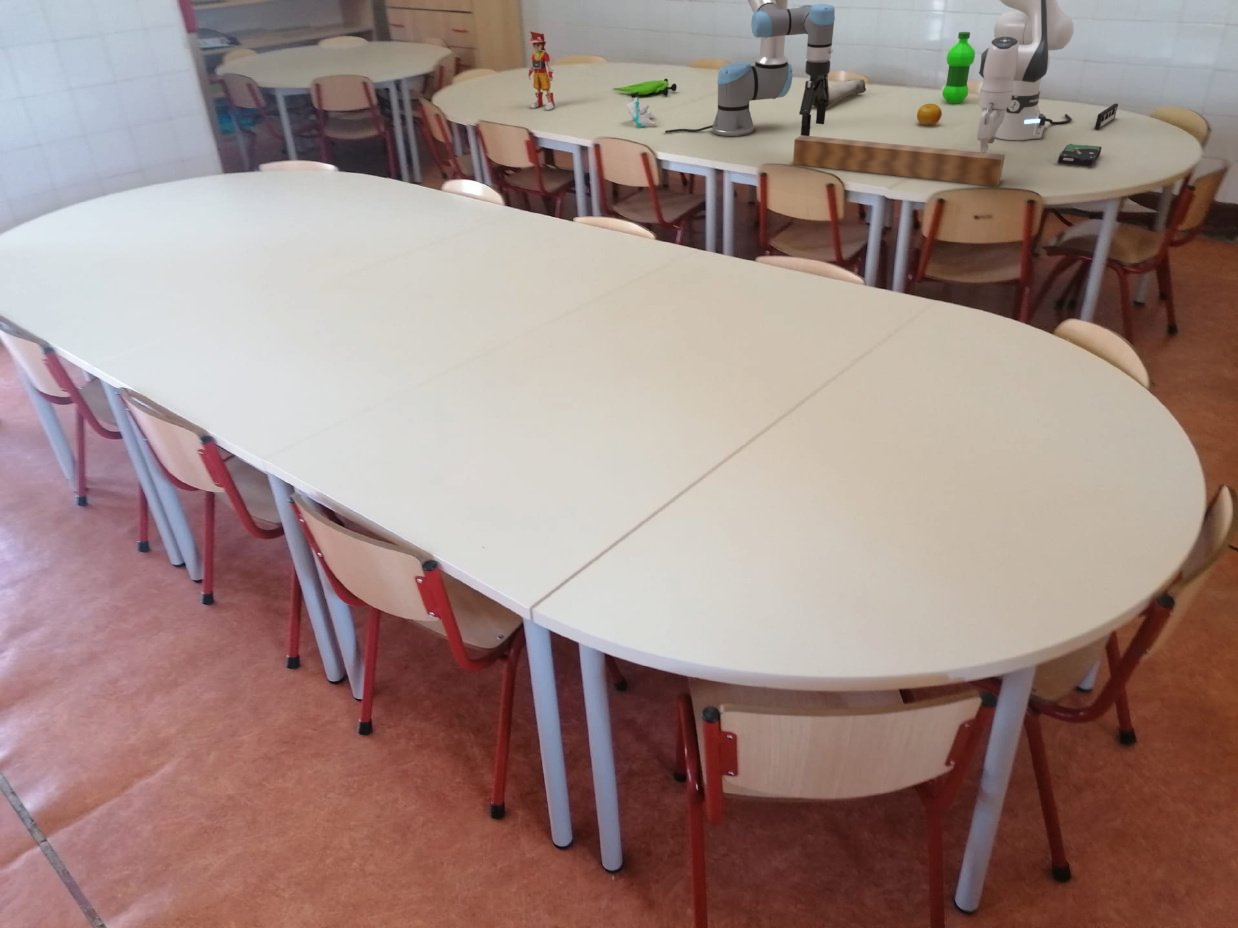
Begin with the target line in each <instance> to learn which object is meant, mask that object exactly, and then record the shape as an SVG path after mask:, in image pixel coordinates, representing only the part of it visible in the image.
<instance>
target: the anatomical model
mask: <svg viewBox="0 0 1238 928" xmlns="http://www.w3.org/2000/svg"><path fill="white" fill-rule="evenodd" d="M625 106H626V109H627V113H628V114H629V116H631V118H632V120H633V121H634V123H635V125H636V126H637V127H639V128H644V127H645V126H655V125H657V121H652V120H651V119H654V117H655V114H654V113H652V111H648V109H649V108H650V105H645V106H644V107H642V108H640V100H639V98H638V97H634V98H633V100H632V101H631V102H628V103H626V105H625Z"/></svg>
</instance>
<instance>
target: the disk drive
mask: <svg viewBox="0 0 1238 928" xmlns="http://www.w3.org/2000/svg"><path fill="white" fill-rule="evenodd" d="M1101 152H1102V146H1097V145H1088V144H1087V145H1086V144H1084V145H1083V144H1072V143H1069V144H1066V146H1065V147H1064V148H1063V150H1062V151H1061V152H1060V154H1059V155H1058V159H1057V164H1062V165H1070V166H1076V167H1077V166H1078V167H1093V166H1094V164H1095V163H1096V161H1097V160H1098V159H1099V157H1100V155H1101Z"/></svg>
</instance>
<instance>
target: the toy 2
mask: <svg viewBox="0 0 1238 928" xmlns="http://www.w3.org/2000/svg"><path fill="white" fill-rule="evenodd" d="M669 85H670V83H669V79H668V78H664V79H663V80H649V81H644V82H640V83H634V84H629V85H627V86H621V87H613V88H612V89H613V90H616V91H619V92H623V93H627V94H628V93H629V94H631V95H630V96H631V98H632V99H635V98H636V96H637V95H650V94H652V93H654V94H658V93H662V95H663V96H665V97H667V96H668V95H669V90H671V91H672V92H676V91H677V84H676V83H672V84H671V86H669Z"/></svg>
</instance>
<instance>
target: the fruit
mask: <svg viewBox="0 0 1238 928" xmlns="http://www.w3.org/2000/svg"><path fill="white" fill-rule="evenodd" d="M942 116H943V111H942V109H941V107H940V106H939V105H937V104H936V103H926V104H923V105H921V106H920V107H919V108H918V110H917V112H916V119H917V121H918V122H919V123H920V124H921V125H923V126H932V125H935V124H937V123H938V122H939V121H940V120H941V118H942Z"/></svg>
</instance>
